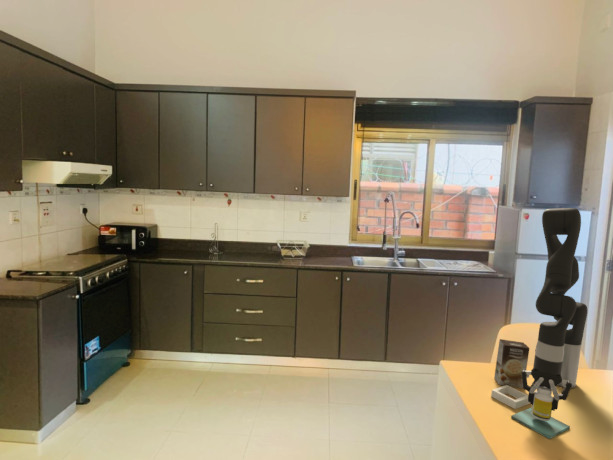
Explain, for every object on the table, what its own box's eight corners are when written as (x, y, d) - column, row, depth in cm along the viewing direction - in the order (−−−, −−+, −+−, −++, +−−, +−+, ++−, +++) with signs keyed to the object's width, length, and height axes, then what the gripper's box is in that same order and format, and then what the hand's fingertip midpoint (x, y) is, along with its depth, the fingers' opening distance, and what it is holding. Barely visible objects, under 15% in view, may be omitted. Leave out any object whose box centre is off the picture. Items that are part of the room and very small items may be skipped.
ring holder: (505, 391, 146) (506, 384, 145) (530, 403, 138) (530, 396, 138) (491, 396, 141) (491, 389, 141) (515, 409, 133) (516, 402, 133)
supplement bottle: (553, 422, 123) (557, 393, 122) (534, 419, 124) (538, 390, 123) (546, 413, 128) (550, 384, 127) (528, 410, 129) (532, 382, 128)
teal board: (531, 409, 134) (531, 407, 134) (569, 428, 124) (569, 426, 124) (511, 417, 128) (511, 415, 128) (549, 438, 118) (549, 436, 118)
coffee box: (498, 385, 150) (503, 344, 148) (493, 377, 156) (498, 338, 155) (524, 388, 149) (529, 348, 147) (518, 380, 155) (523, 341, 153)
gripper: (523, 354, 124) (516, 404, 126) (577, 366, 117) (570, 419, 119) (523, 346, 130) (516, 394, 132) (574, 357, 123) (567, 408, 125)
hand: (542, 406), depth 125 cm, fingers closed on supplement bottle, 5 cm apart
